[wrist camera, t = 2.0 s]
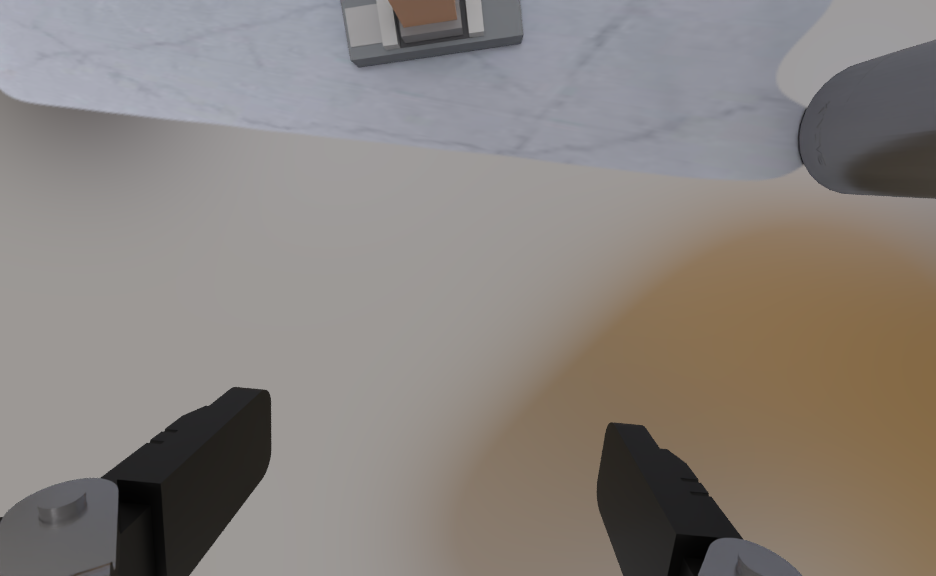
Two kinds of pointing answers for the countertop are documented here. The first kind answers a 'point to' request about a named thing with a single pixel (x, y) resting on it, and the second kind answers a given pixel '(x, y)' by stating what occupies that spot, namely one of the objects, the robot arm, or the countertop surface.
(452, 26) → the lever
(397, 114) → the countertop surface
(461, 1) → the switch panel
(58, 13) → the countertop surface
